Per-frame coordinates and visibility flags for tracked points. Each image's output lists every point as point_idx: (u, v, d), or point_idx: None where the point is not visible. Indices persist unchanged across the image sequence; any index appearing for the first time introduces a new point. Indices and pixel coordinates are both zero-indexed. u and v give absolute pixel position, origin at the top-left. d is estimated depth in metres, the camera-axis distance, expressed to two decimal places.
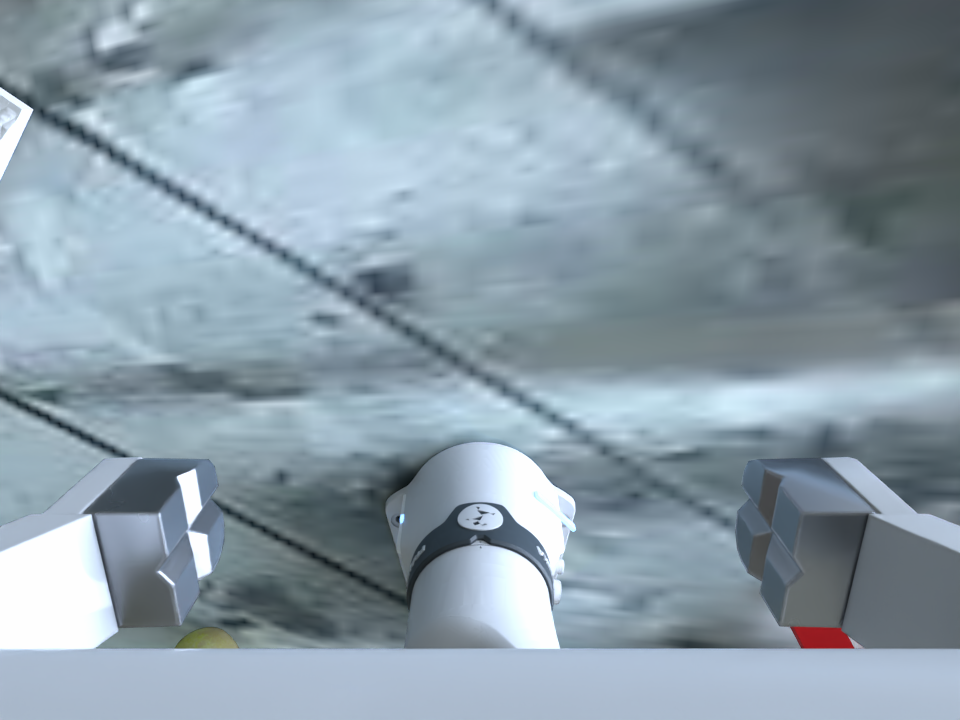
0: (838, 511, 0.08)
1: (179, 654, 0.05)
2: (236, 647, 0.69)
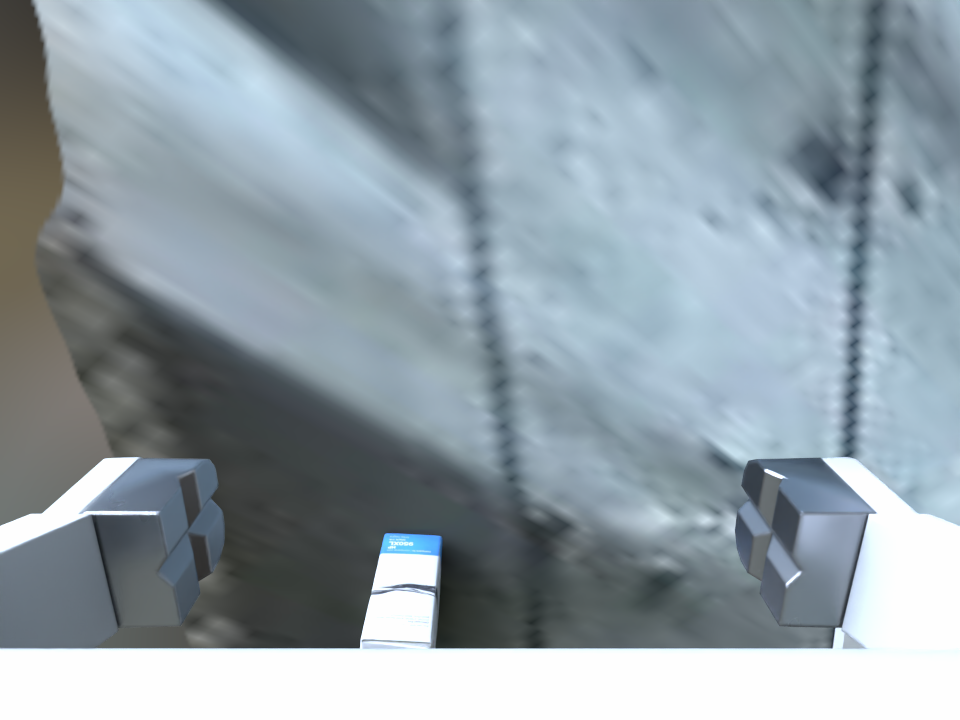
0: (838, 511, 0.08)
1: (179, 654, 0.05)
2: None
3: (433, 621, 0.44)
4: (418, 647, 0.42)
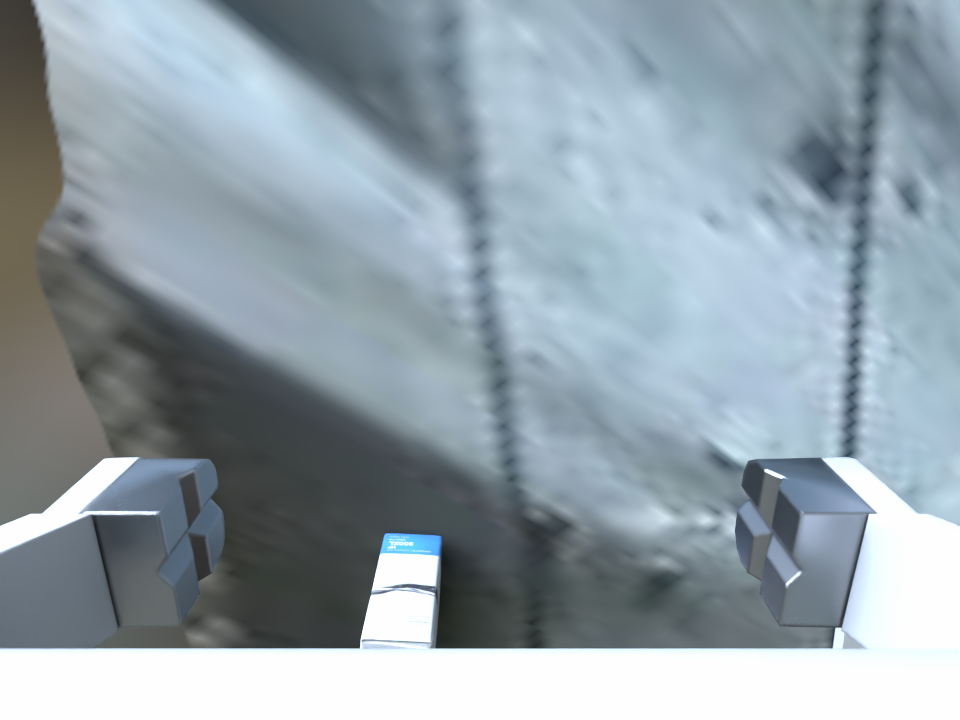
0: (838, 511, 0.08)
1: (179, 654, 0.05)
2: None
3: (433, 621, 0.44)
4: (418, 647, 0.42)
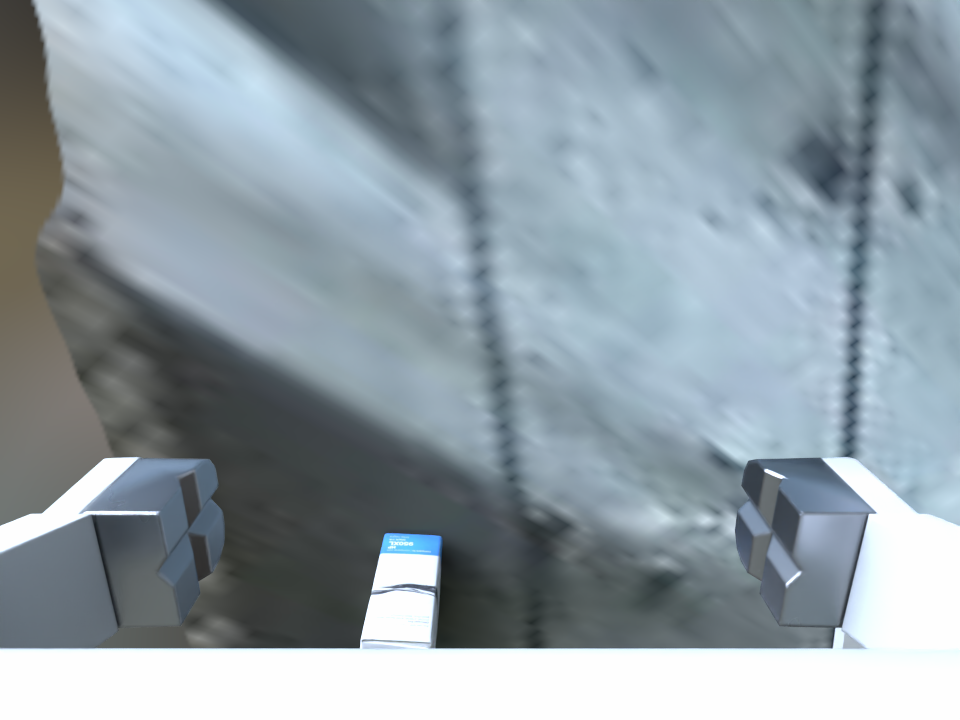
0: (838, 511, 0.08)
1: (178, 656, 0.05)
2: None
3: (433, 621, 0.44)
4: (418, 647, 0.42)
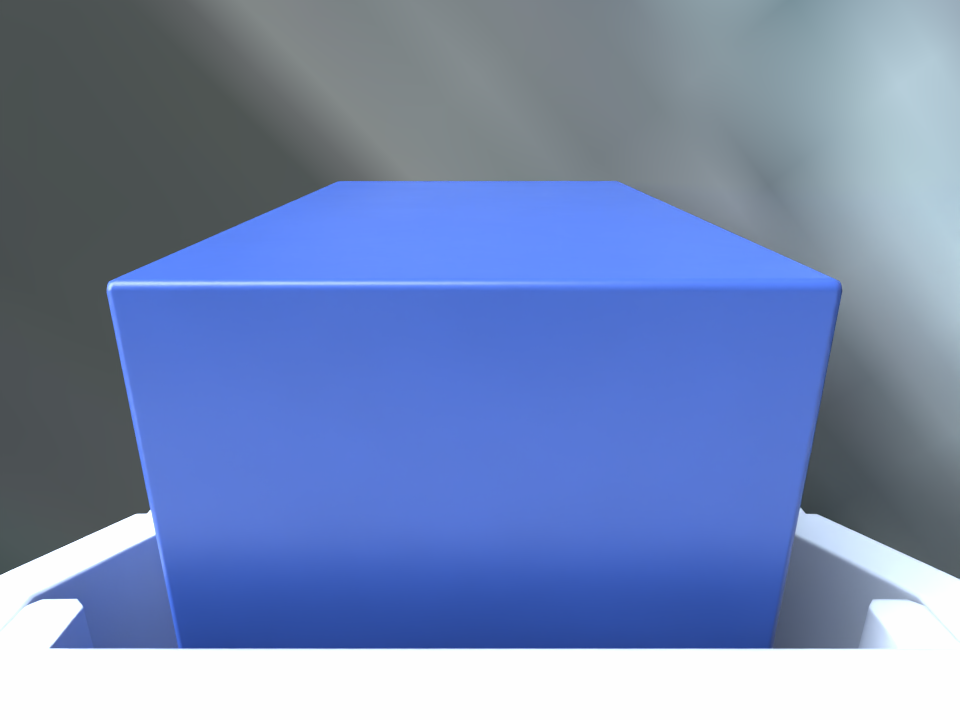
0: None
1: (179, 655, 0.05)
2: None
3: None
4: None
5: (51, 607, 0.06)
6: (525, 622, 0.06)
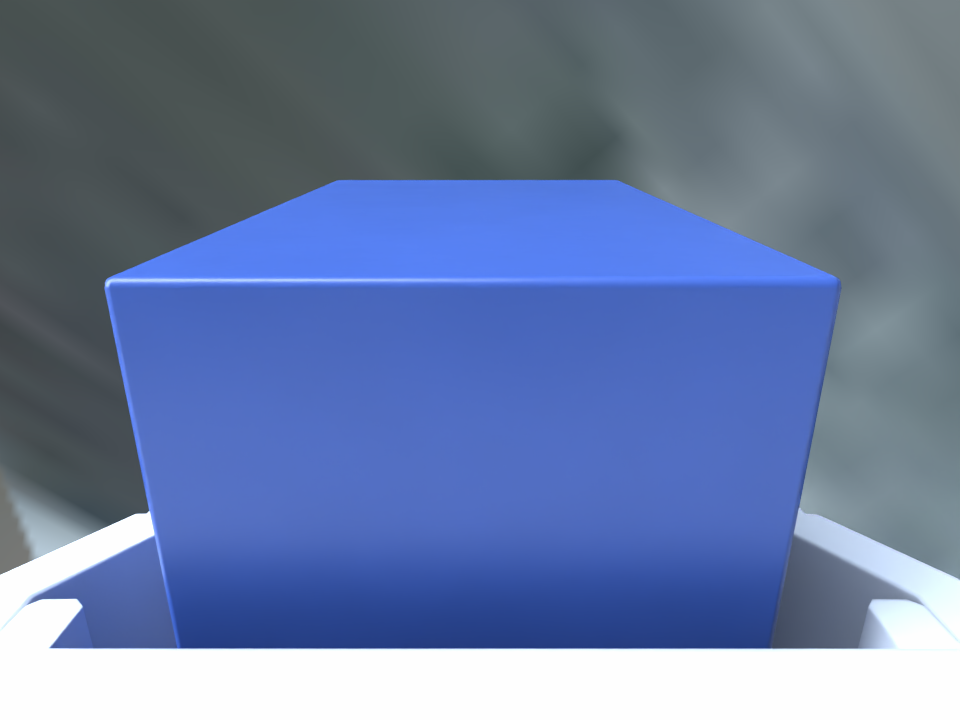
0: None
1: (179, 654, 0.05)
2: None
3: None
4: None
5: (49, 608, 0.06)
6: (523, 619, 0.06)
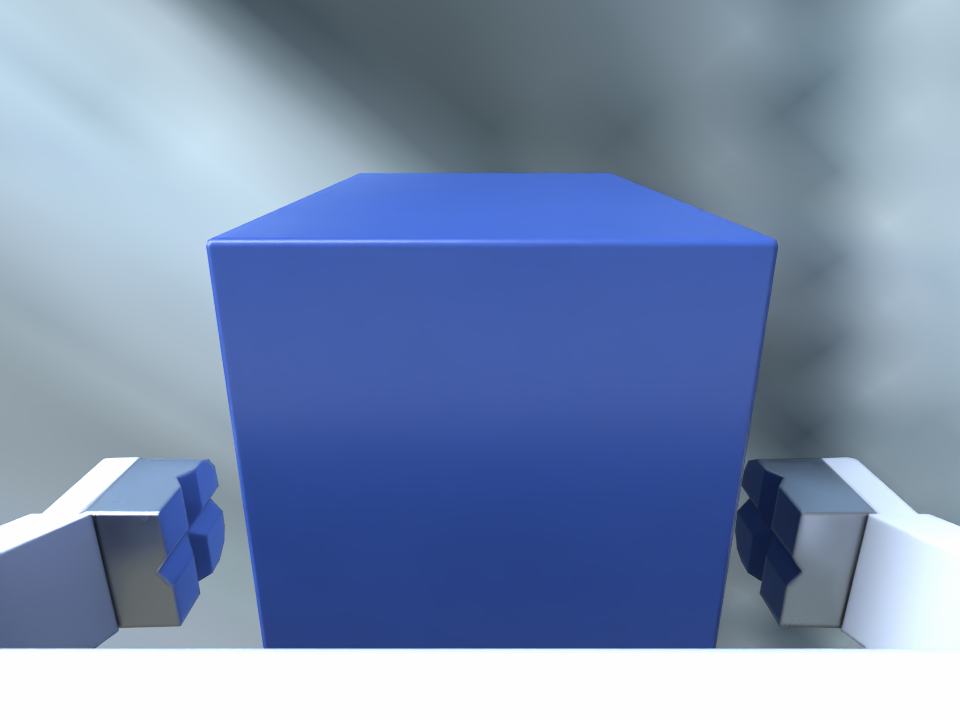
0: (838, 511, 0.08)
1: (178, 654, 0.05)
2: None
3: None
4: None
5: None
6: (530, 520, 0.07)
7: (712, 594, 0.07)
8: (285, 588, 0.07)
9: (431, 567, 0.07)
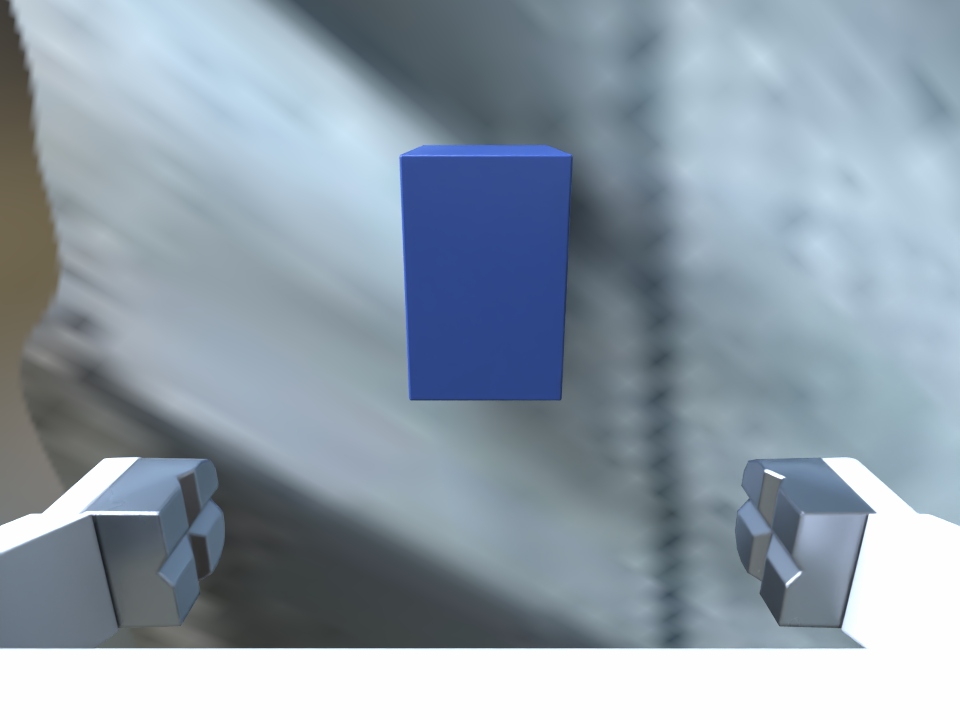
0: (838, 511, 0.08)
1: (179, 654, 0.05)
2: None
3: None
4: None
5: None
6: (499, 252, 0.21)
7: (562, 282, 0.22)
8: (415, 279, 0.22)
9: (466, 271, 0.22)
